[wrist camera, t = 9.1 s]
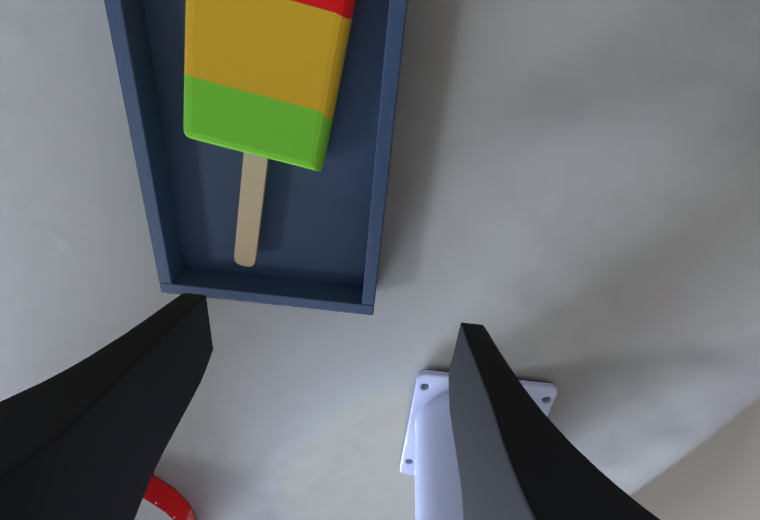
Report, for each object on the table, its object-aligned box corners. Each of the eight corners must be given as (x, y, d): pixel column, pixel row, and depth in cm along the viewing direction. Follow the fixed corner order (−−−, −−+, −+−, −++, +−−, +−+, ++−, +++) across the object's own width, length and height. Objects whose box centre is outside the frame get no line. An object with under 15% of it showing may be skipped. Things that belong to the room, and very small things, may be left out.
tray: (375, 291, 24) (373, 315, 22) (178, 270, 24) (161, 293, 22) (427, -187, 14) (430, -210, 12) (96, -225, 14) (54, -252, 12)
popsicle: (379, -110, 15) (375, -121, 13) (305, 267, 23) (297, 290, 21) (207, -164, 14) (181, -181, 13) (193, 240, 22) (176, 261, 21)
